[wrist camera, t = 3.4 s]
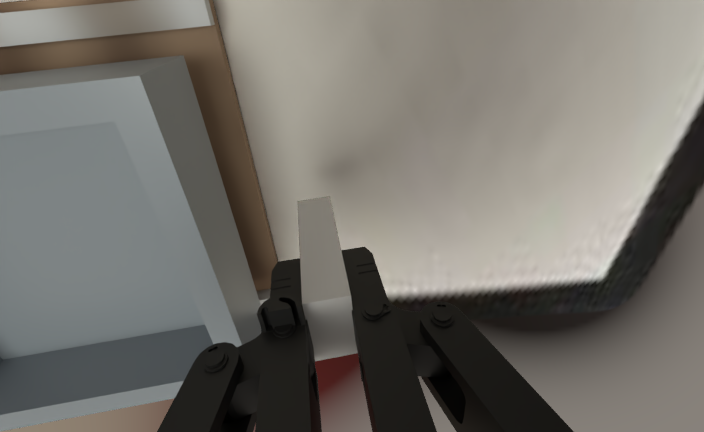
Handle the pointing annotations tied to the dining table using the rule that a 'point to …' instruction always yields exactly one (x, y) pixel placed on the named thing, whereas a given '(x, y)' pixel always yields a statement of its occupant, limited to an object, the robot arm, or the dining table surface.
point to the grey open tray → (111, 241)
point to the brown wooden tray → (147, 43)
